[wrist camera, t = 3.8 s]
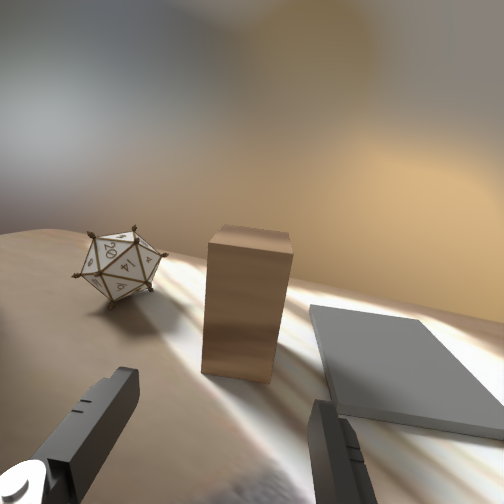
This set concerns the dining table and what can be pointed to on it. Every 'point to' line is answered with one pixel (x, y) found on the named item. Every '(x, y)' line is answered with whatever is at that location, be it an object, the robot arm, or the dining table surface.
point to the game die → (120, 264)
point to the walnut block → (244, 301)
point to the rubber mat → (400, 374)
